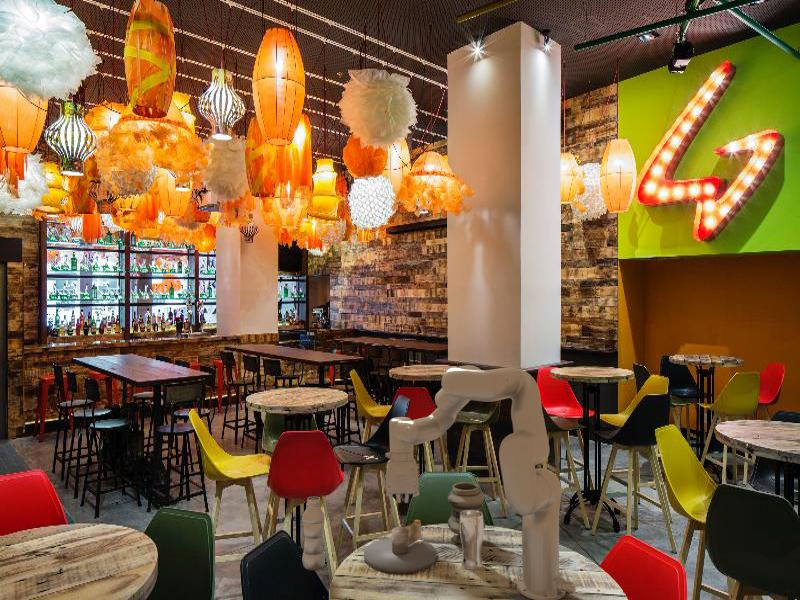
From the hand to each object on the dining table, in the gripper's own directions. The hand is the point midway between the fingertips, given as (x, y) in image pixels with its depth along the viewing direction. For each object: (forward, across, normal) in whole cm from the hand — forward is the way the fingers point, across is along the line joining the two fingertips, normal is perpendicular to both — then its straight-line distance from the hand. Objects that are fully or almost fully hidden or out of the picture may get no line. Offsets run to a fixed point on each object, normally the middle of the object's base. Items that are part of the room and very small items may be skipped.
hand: (403, 514), depth 180 cm
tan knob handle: (+8, +1, -6) cm, 10 cm away
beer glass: (+10, +21, -14) cm, 27 cm away
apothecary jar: (+10, +20, +3) cm, 23 cm away
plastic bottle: (+9, -25, -19) cm, 33 cm away
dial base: (+10, -1, -9) cm, 13 cm away
